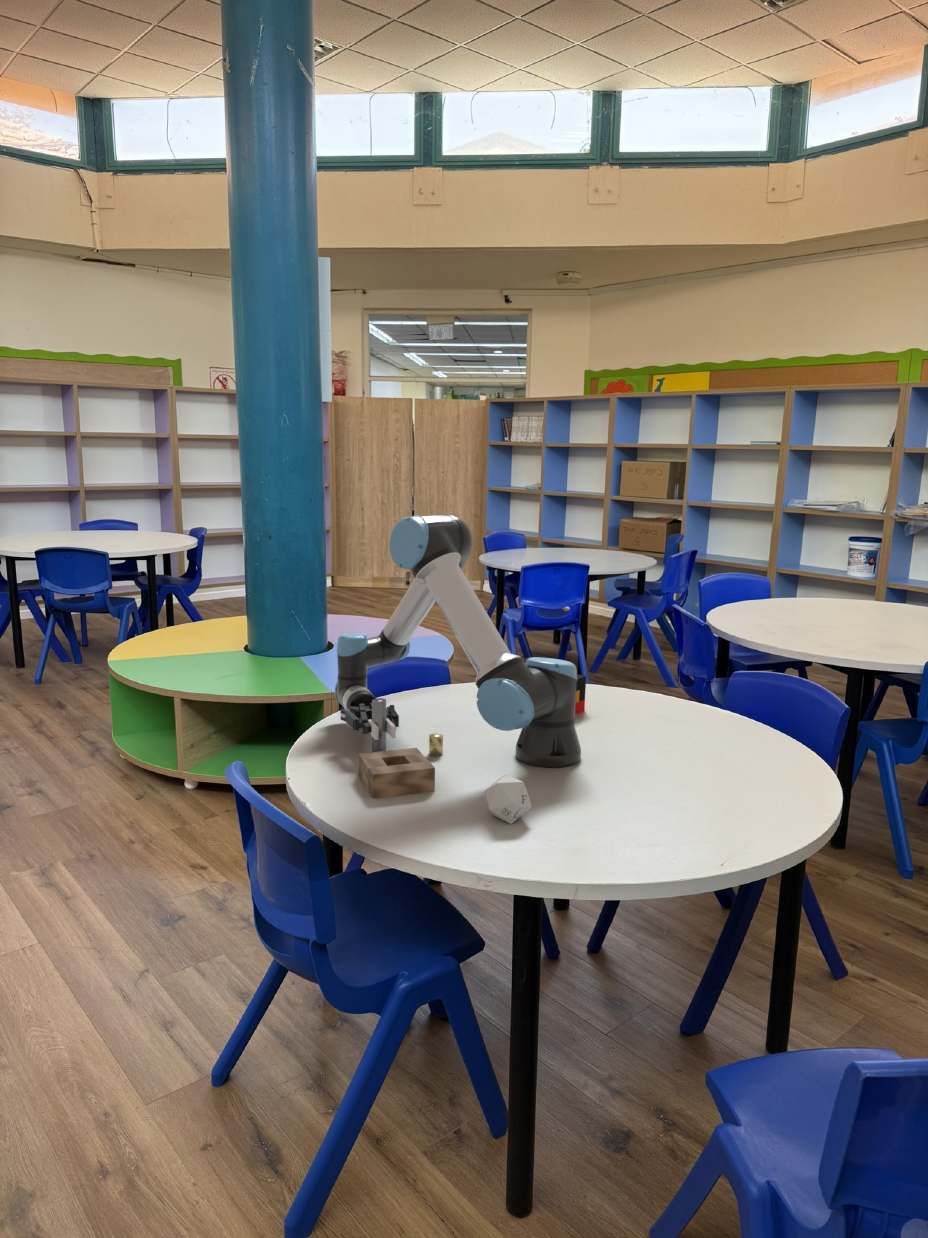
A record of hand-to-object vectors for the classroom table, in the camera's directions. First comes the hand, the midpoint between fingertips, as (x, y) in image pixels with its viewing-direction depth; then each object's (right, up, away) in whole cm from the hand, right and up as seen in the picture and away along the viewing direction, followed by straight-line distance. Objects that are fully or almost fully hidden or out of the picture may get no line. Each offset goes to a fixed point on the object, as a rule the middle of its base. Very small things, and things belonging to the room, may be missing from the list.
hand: (385, 733), depth 180 cm
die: (+26, -13, -24) cm, 37 cm away
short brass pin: (+11, -6, +11) cm, 17 cm away
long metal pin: (-2, -7, +6) cm, 10 cm away
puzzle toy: (+44, -1, +47) cm, 65 cm away
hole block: (+3, -10, -7) cm, 12 cm away
